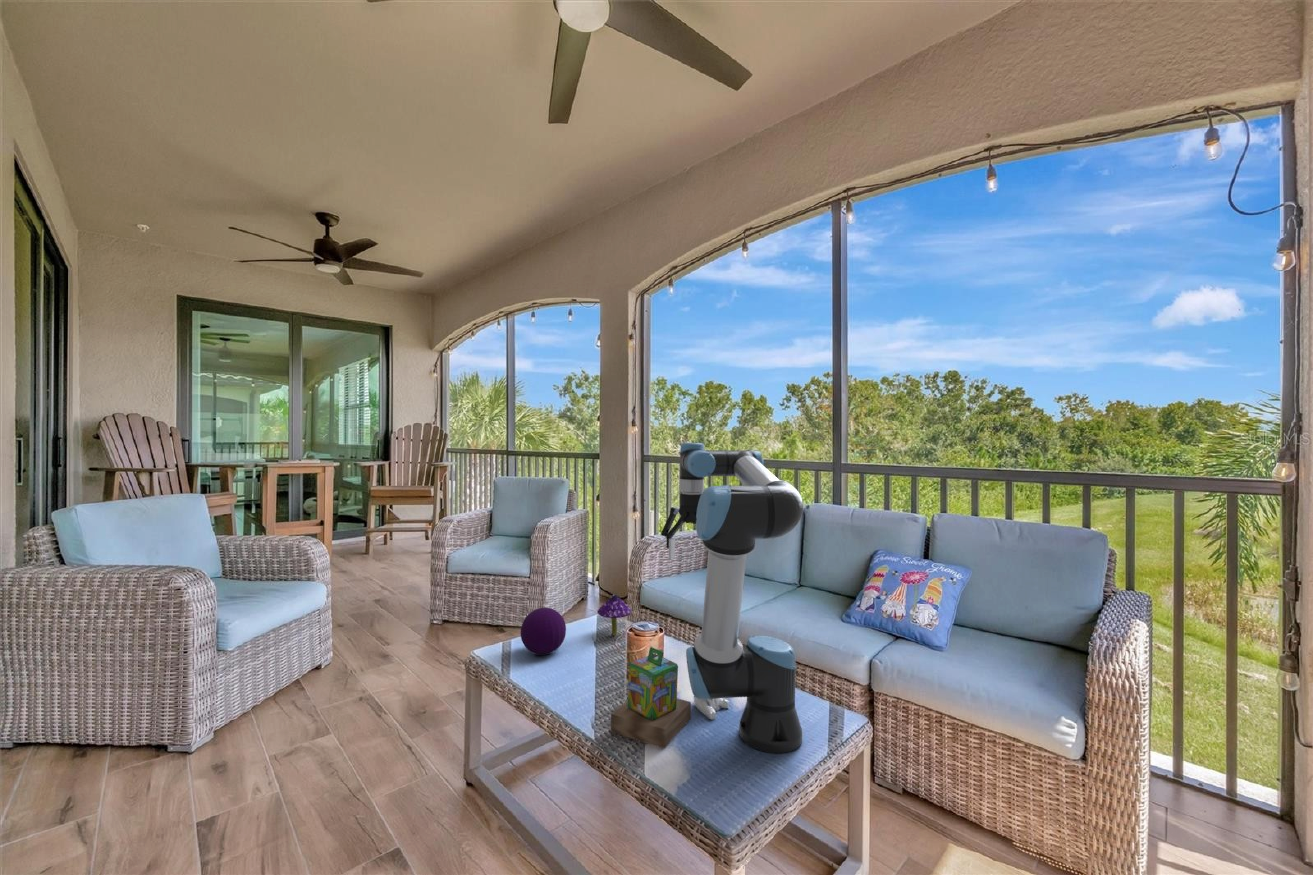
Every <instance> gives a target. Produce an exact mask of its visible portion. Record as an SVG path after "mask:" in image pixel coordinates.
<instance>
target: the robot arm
mask: <svg viewBox="0 0 1313 875" xmlns="http://www.w3.org/2000/svg"><path fill="white" fill-rule="evenodd" d="M679 451H680V452H679V466H680V470H679V471H680V472H679V473H680V474H679V492H680V494H679V507H678V506H673V507H670V509H669V510H670V511H669V515H668V518H667V520H666V521H665V524H664V526H663V528H662V530H661V532H660V536H661V537H665V539H666V548H667V549H668V560H669V561H672V560H674V559H675V558H676V537H674V536H675V535H676V533H677V532H678V530H680V529H681V528H682V526H683V525H684V524H685V523H686V524H692V525H695V528H696V531H695V532H696V535H697V537H698V538H699V539H700V540H702V545H703V546H704V548H705V549H706V550H707V551H708V552H707V564H706V578H705V590H704V602H703V612H702V624H701V633H699V634H697V636H696V638H695V639H694V645H693V646H692V645H691V646H689V647H687V648H686V651H685V657H686V668H687V673H688V679H689V680H688V681H689V684H690V687H691V692H692V694H693V697H694V696H695V697H696V698H699V699H711V700H712V699H718V698H725V699H730V698H731V699H732V698H746V704H745V706H744V708H743V711H742V715H741V717H740V720H739V725H738V726H739V730H738V732H739V736H740V739H741V740H742V741H743V742H744V743H745V744H746V745H748V746H749V747H751V748H752V749H755V750H757V751H761V752H764V753H770V754H784V753H789V752H792V751H795V750H797V749H798V748H799V747H800V746H801V744H802V742H803V730H802V729H803V728H802V726H801V722H800V718H799V716H798V712H797V709H796V676H797V675H796V672H797V671H796V670H797V663H796V652H795V650H794V648H793V647H792V646H791V645H790V644H789V643H787V642H785V641H784V640H781V639H779V638H776V637H773V636H767V635H752V636H750V637H748V638H747V640H746V644H745V645H743V643H742V642H741V640H740V639H739V630H740V621H741V610H742V602H743V594H744V593H743V592H744V584H745V576H746V565H747V564H746V563H747V557H748V556H747V555H750V554H751V553H753V551H754V550H755V548H756V546H755V545H756V541H757V540H759V539H760V540H762V539H763V540H765V539H776V538H780V537H783V536H785V535H787V534H789V533H790V532H792V530H794V529H795V528H796V526H798V523H800V521H801V519H802V516H803V512H804V503H803V502H804V501H803V498H802V496H801V494H800V492H799V491H798V490H797V489H796V487H794V486H793V485H792V484H791V483H790V482H788V481H785V480H782V479H781V480H780V479H779V478H778V477H776V475H775V474H773V473H772V472H771V471H770V470H769V469H768V468H766V467H765V466H764V457H763V454H762V453H761V452H760V451H758V450H750V449H747V450H746V449H744V450H738V449H737V450H734V449H733V450H720V449H719V450H717V449H715V450H714V449H711V450H710V449H709V450H708V449H707V450H706V448H705V444H704V443H702V442H682V443H681V444H680V450H679ZM706 477H736V478H737V480H738V481H739V482H740V483H741V484H742V485H728V484H722V485H716V486H715V485H713V486H712V485H711V486H708V487H707V488H705V478H706ZM678 514H679V515H680V517H679V518H678V520H677V521H676V523H675V524H674V525H673V523H674V521H675V519H676V517H677V515H678ZM672 525H673V526H672Z"/></svg>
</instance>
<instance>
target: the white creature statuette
mask: <svg viewBox="0 0 1313 875" xmlns="http://www.w3.org/2000/svg"><path fill="white" fill-rule="evenodd" d="M693 703H694V706H695V707H696V708H697V710H698V711H699V712H701V713H702V714H703V715H704V716H706V717H707V719H709V720H715V719H716V718H717V712H718V711H719V710H720V709H729V707H730V700H728V699H727V698H718V699H712V700H711V699H699V698H696V697H695V696H694V695H693Z"/></svg>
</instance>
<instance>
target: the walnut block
mask: <svg viewBox="0 0 1313 875" xmlns="http://www.w3.org/2000/svg"><path fill="white" fill-rule="evenodd" d="M691 713H692V702H691V701H688V700H684V699H681V698H677V704H676V709H674V710H672V711H670V712H668V713H666V714H664V715H662V716H660V717H658V718H656V719H654V720H652V721H651V720H650V719H648V718H646V717H645V716H643V715H641V714H639V713H638V712H636V711H634V710H633V709H631V708H629V707H628V699H627V700H626V701H625V702H623V703H622V704H621V705H620V706H618V707H617V708H616V709H615V710H613V711H612V712H611V713H610V732H611V733H614V734H616V735H620V736H623V737H626V738H630V739H633V740H635V741H636V740H637V741H639V742H643V743H646V744H649V745H652V746H654V747H655V746H656V747H659V748H661V749H666V748H667V746H668V745H669V744H670V743H671V742H672V741H673V740H674V739H675V737H676V736H677V735H678V734H679V733H680V732H681V731H682V730H683V729H684V727H685V726H686V725H687V724H688V723H690V721H691V719H692V717H691V716H692V714H691Z"/></svg>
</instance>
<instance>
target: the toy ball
mask: <svg viewBox="0 0 1313 875" xmlns="http://www.w3.org/2000/svg"><path fill="white" fill-rule="evenodd" d="M566 633H567V625H566V621H565V619H564V617H563V616H562V615H561V613H560V612H558V611H557V610H555V609H554V608H550V607H538V608H536V609H534V610H532V611H530V613H529V614H527V615H526V616H525V617H524V620H523V621H522V624H521V628H520V639H521V642H522V644H523V645H524V647H525V649H526V650H528V651H529V652H531V653H532V654H534V655H540V656H546V655H549V654H551V653H553V652H555V651H557V650H558V649H559V648H560V647H561V646H562V644H563V643H564V640H565V638H566Z"/></svg>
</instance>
